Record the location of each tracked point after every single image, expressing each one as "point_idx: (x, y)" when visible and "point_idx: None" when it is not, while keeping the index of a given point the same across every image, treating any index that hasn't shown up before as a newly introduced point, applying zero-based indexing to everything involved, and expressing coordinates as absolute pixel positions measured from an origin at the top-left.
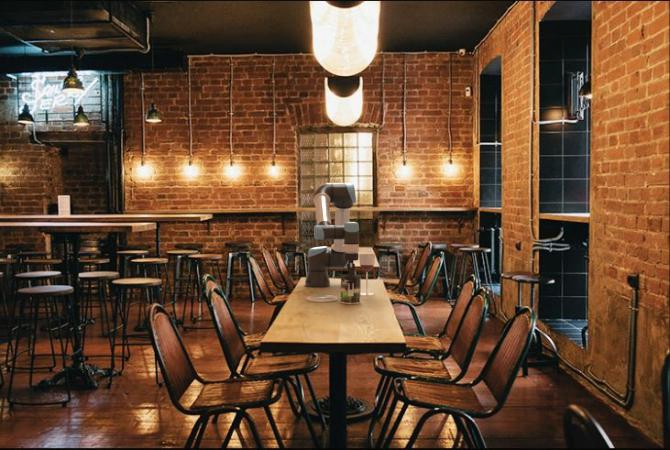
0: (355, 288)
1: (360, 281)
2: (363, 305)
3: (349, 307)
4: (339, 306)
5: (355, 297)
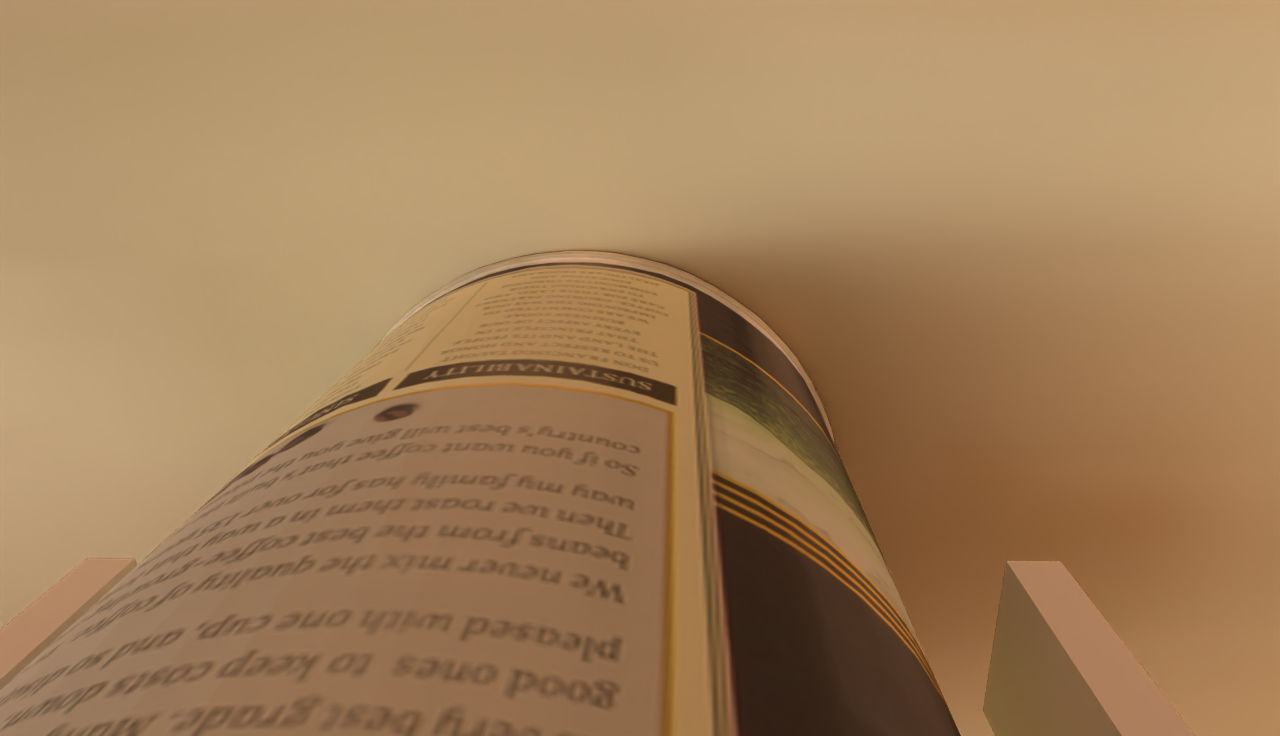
0: (928, 678)
1: (535, 714)
2: (1011, 162)
3: (1261, 513)
4: None
5: (841, 461)
